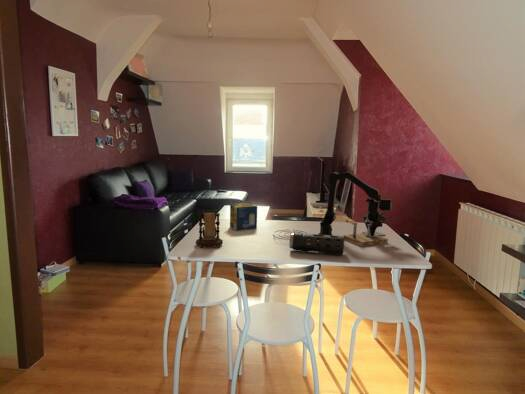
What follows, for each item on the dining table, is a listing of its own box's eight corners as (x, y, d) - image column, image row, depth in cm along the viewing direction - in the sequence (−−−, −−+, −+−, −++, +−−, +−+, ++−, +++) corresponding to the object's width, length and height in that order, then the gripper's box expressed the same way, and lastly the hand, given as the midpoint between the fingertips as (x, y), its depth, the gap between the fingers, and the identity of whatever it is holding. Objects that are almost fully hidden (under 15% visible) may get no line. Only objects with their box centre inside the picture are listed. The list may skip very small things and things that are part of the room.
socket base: (359, 246, 214) (360, 242, 213) (343, 239, 228) (343, 235, 228) (387, 243, 222) (387, 239, 221) (369, 236, 236) (370, 232, 236)
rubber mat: (372, 236, 236) (372, 235, 236) (362, 232, 245) (362, 232, 245) (384, 235, 240) (384, 234, 239) (374, 231, 249) (374, 230, 249)
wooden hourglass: (197, 250, 200) (197, 213, 197) (194, 242, 214) (194, 207, 211) (224, 248, 204) (225, 212, 200) (220, 241, 218) (220, 207, 214)
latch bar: (356, 238, 221) (357, 222, 219) (353, 238, 221) (354, 222, 219) (344, 230, 240) (345, 215, 238) (342, 230, 239) (343, 215, 238)
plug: (369, 242, 223) (371, 225, 222) (364, 239, 228) (365, 223, 226) (376, 241, 225) (377, 225, 224) (371, 239, 230) (372, 223, 228)
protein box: (229, 227, 251) (229, 204, 249) (250, 225, 258) (250, 203, 256) (236, 230, 242) (236, 207, 240) (257, 228, 249) (257, 205, 247)
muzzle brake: (343, 258, 193) (344, 238, 191) (288, 253, 198) (289, 234, 197) (342, 252, 202) (344, 233, 201) (291, 248, 208) (291, 230, 206)
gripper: (392, 212, 215) (390, 239, 217) (380, 206, 233) (378, 231, 236) (373, 212, 214) (371, 239, 217) (362, 206, 233) (361, 231, 235)
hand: (370, 234), depth 226 cm, fingers closed on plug, 4 cm apart
